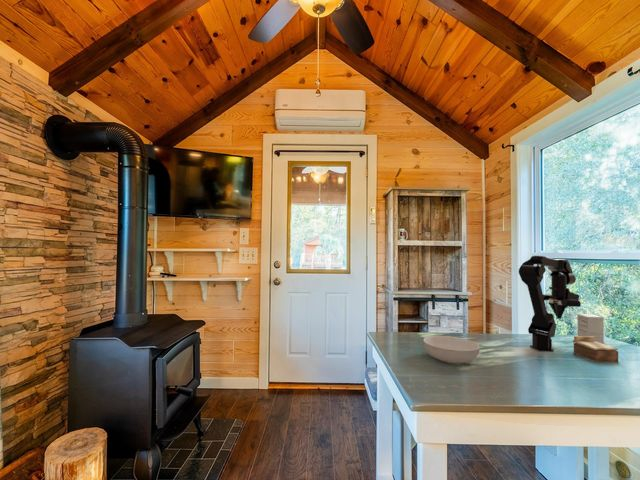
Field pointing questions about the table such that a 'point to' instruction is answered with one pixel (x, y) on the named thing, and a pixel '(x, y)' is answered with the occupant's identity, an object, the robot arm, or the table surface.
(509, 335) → the table surface
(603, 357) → the walnut box
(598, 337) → the supplement box
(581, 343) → the lid
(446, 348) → the serving bowl
